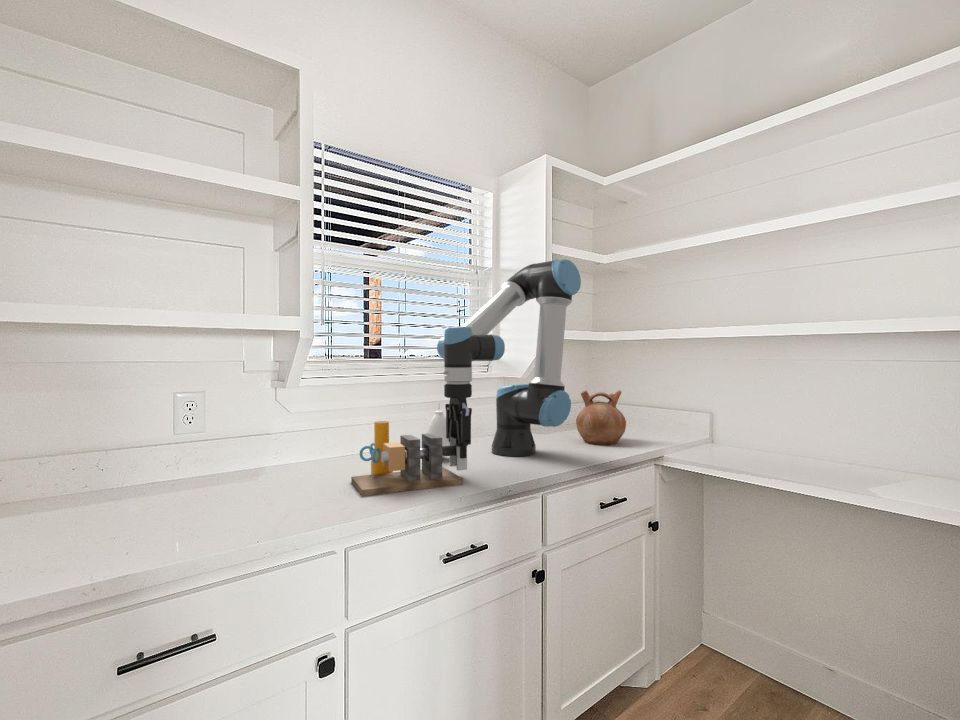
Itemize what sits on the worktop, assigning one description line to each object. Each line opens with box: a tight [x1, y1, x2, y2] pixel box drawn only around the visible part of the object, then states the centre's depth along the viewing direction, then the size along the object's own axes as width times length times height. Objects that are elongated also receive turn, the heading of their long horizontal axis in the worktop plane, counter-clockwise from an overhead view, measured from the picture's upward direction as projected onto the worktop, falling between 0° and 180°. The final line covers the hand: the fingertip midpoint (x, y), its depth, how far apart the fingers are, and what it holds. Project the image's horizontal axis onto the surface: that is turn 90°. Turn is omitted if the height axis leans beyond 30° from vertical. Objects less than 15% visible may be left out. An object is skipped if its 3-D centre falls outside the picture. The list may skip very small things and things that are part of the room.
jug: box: [575, 390, 627, 446], centre depth 191 cm, size 18×18×20 cm
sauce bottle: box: [426, 403, 450, 459], centre depth 163 cm, size 8×8×18 cm
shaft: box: [381, 436, 458, 465], centre depth 134 cm, size 22×4×7 cm, turn 115°
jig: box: [350, 433, 464, 497], centre depth 132 cm, size 26×14×12 cm, turn 115°
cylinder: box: [359, 420, 394, 475], centre depth 140 cm, size 12×10×15 cm
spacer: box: [383, 441, 405, 472], centre depth 131 cm, size 4×6×6 cm, turn 25°
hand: (458, 467), depth 138 cm, fingers closed on shaft, 4 cm apart
